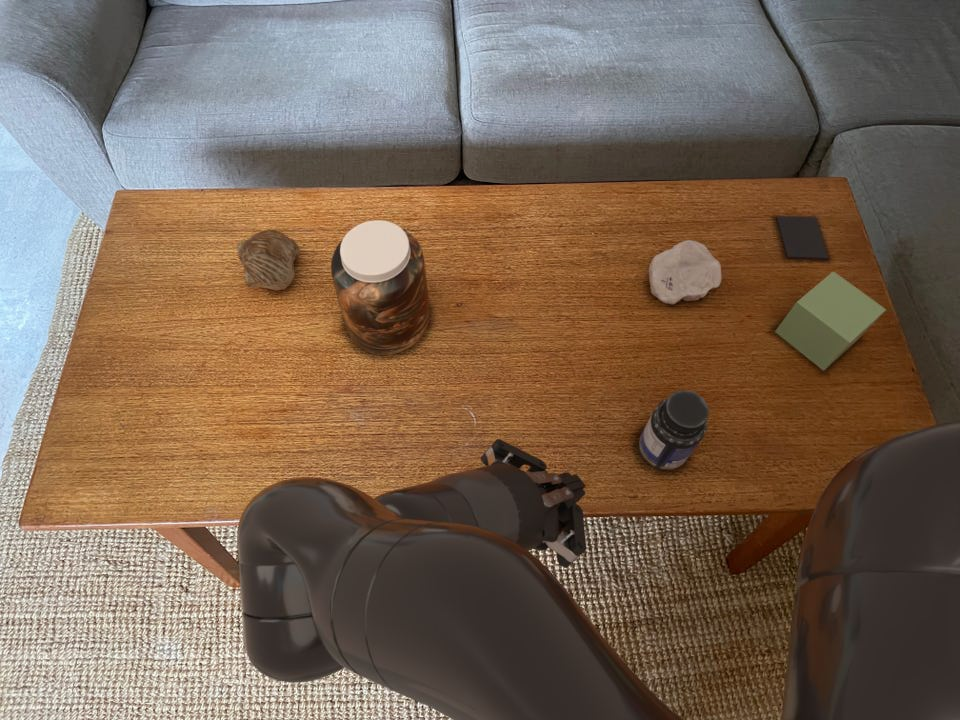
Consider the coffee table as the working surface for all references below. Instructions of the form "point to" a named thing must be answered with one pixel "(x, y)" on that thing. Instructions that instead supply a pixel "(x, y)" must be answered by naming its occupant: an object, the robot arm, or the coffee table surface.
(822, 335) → the green block
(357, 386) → the coffee table surface
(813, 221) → the rubber mat
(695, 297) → the fossil
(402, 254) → the jar
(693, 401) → the pill bottle
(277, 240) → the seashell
